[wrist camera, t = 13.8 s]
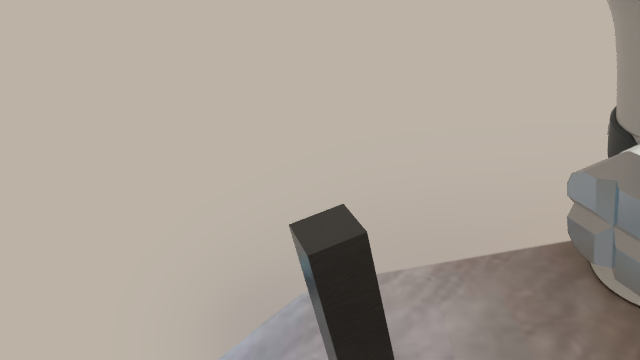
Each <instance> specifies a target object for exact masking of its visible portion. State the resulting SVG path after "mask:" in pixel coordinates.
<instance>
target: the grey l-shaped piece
mask: <svg viewBox="0 0 640 360" xmlns="http://www.w3.org/2000/svg"><path fill="white" fill-rule="evenodd" d="M289 227H290V231H291V234H292V237H293V241H294V244H295V247H296V251H297V254H298V257H299V261H300V264H301V268H302V271H303V274H304V278H305V281H306V284H307V288H308V291H309V295H310V298H311V301H312V305H313V308H314V311H315V315H316V318H317V322H318V325H319V328H320V332H321V335H322V338H323V342H324V345H325V349H326V352H327V355H328V359H329V360H394V356H393V351H392V346H391V342H390V337H389V332H388V328H387V323H386V318H385V314H384V309H383V304H382V300H381V295H380V290H379V286H378V281H377V276H376V272H375V267H374V262H373V258H372V254H371V248H370V244H369V239H368V235H367V231H366V230H365V229H364V228H363V227H362V225H361V224H360V223H359V222H358V221H357V219H356V218H355V217H354V216H353V215H352V214H351V212H350V211H349V210H348V209H347V208H346V207H345V205H344V204H341V205H339V206H336V207H334V208H331V209H328V210H326V211H323V212H321V213H318V214H315V215H313V216H310V217H308V218H306V219H302V220H300V221H297V222H295V223H292V224H289Z"/></svg>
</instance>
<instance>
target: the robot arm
mask: <svg viewBox="0 0 640 360" xmlns="http://www.w3.org/2000/svg"><path fill="white" fill-rule="evenodd" d="M607 2H608V4H609V7H610V10H611V13H612V17H613V22H614V27H615V36H616V50H617V106H616V107H615V108H614V109H613V111H612V113H611V116H610V124H609V126H608V135H609V136H608V159H606V160H603V161H601V162H599V163H596V164H594V165H591V166H589V167H587V168H584V169H582V170H579V171H577V172H575V173H572V174H571V176H570V178H569V181H568V185H567V195H568V196H569V198H570V199H571V200H572V201H573V202H574V205H573V207H572V209H571V211H570V212H569V214H568V216H567V219H568V220H567V221H568V233H569V236H570V238H571V240H572V242H573V245H574V247H575V248H576V249H577V250H578V251H579V253H580V254H581V255H582V256H583V257H584V258H586V259H587V260H589V261H590V263H591V266H592V268H593V270H594V272H595V273H596V275H597V276H598V277H599V279H600V280H601V281H602V282H603V283H604V284H605V285H606V286H608V287H609V288H610V289H611V290H612V291H614V292H615V293H617V294H618V295H620V296H621V297H623V298H625V299H627V300H628V301H630V302H632V303H634V304H637V305H639V306H640V0H607Z"/></svg>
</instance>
